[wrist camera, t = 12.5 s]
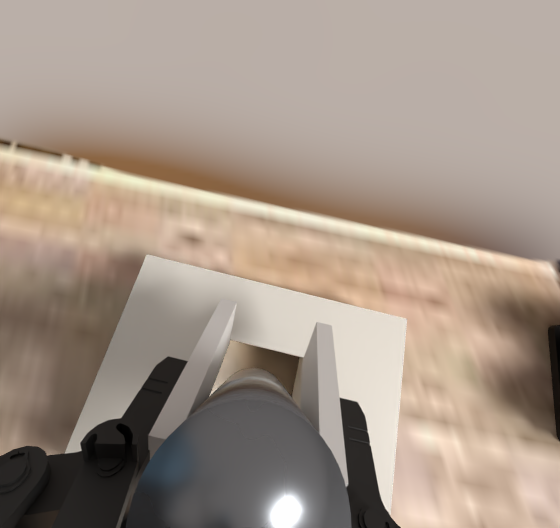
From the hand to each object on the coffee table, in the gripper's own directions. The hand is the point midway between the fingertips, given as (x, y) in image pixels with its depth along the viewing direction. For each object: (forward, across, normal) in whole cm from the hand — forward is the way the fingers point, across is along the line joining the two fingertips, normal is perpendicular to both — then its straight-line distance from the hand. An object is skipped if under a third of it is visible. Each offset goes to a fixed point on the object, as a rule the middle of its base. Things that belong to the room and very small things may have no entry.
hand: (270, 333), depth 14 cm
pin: (0, 0, -5) cm, 5 cm away
